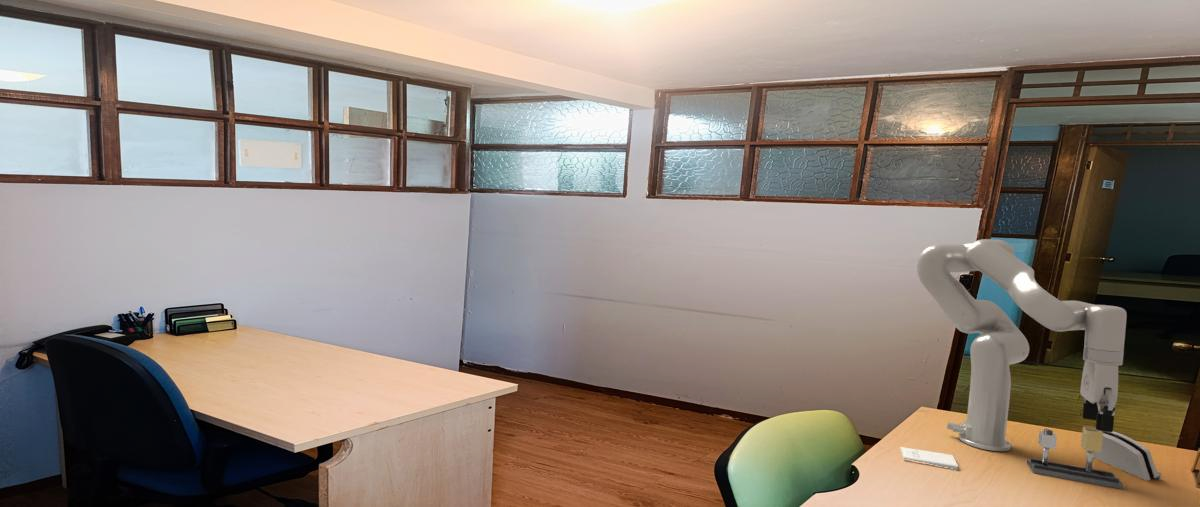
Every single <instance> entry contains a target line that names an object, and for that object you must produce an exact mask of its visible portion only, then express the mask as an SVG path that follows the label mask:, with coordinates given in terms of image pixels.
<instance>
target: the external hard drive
mask: <svg viewBox="0 0 1200 507" xmlns="http://www.w3.org/2000/svg"><path fill="white" fill-rule="evenodd" d="M900 449H901V452H902V454H901V457H902V456H903V458H904V459H909V460H914V461H919V462H925V463H929V464H933V465H938V466H942V467H948V468H953V469H952V470H954V469H957V470H956V471H959V465H958V463H957V462H956V459H955V457H954V455H953V454H947V453H942V452H934V451H931V450H922V449H917V448H911V447H910V448H909V447H904V446H900V447H899V450H900ZM901 452H900V453H901ZM942 467H941V468H942ZM948 468H947V469H948Z"/></svg>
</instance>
